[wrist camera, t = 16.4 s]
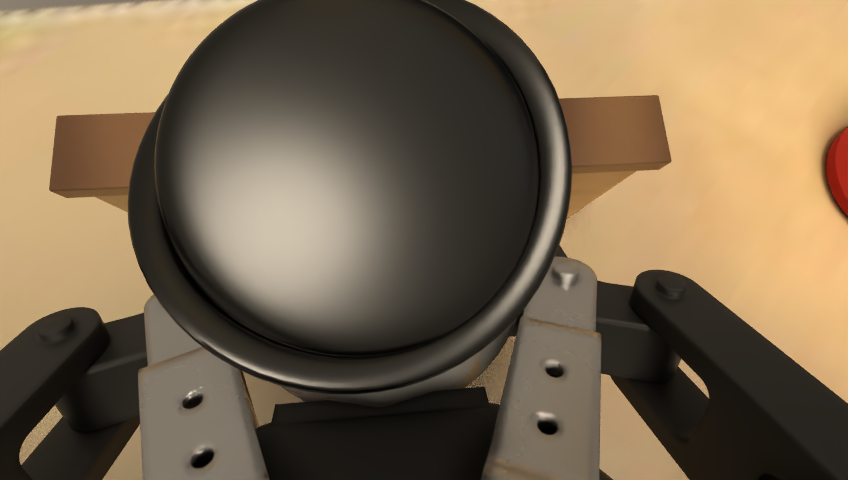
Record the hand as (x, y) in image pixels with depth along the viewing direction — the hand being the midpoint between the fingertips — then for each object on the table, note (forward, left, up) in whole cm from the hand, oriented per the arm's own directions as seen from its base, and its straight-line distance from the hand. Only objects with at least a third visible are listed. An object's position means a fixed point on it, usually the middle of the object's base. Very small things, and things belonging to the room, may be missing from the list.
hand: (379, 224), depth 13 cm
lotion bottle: (+1, -2, -11) cm, 11 cm away
